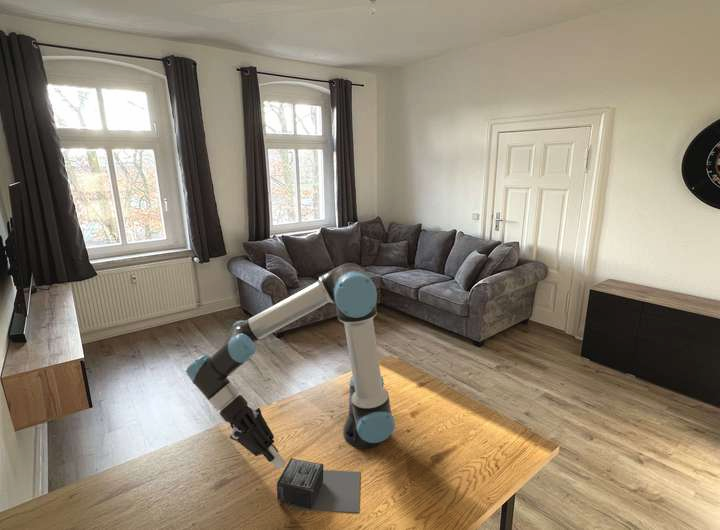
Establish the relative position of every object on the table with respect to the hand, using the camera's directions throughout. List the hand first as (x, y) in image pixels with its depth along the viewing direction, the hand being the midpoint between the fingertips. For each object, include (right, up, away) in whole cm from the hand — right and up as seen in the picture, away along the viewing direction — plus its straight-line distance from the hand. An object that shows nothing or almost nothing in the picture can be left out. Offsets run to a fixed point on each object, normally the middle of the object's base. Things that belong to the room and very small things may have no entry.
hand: (282, 466), depth 111 cm
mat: (+13, -9, +3) cm, 16 cm away
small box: (0, -5, +2) cm, 6 cm away
